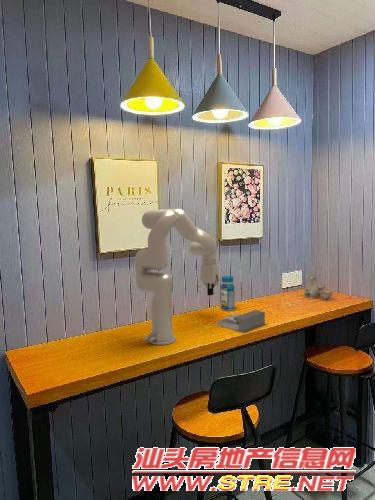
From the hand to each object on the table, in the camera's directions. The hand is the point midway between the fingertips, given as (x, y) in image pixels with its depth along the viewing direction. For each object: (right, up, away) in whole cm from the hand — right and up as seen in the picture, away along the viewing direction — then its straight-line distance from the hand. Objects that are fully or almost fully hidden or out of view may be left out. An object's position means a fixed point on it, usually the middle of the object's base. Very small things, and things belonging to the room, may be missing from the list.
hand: (210, 294), depth 206 cm
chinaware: (+74, -7, +43) cm, 85 cm away
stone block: (+11, -14, -10) cm, 20 cm away
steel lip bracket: (+15, -14, -14) cm, 24 cm away
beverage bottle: (+12, -11, +18) cm, 24 cm away
